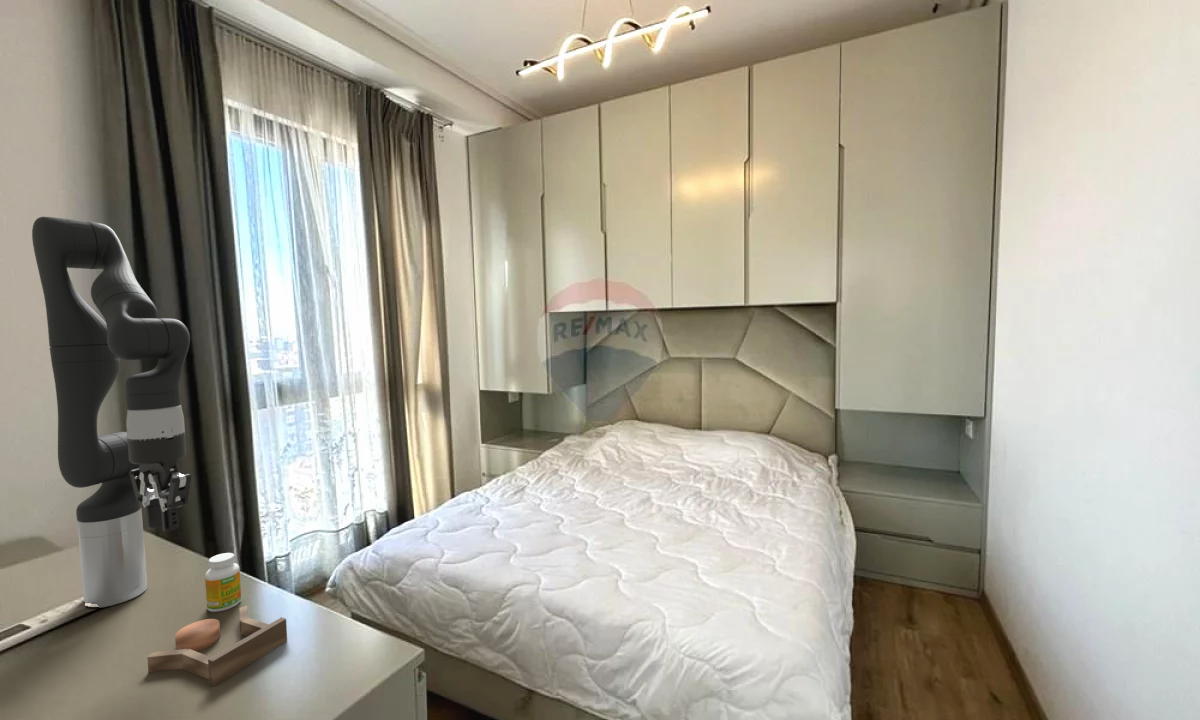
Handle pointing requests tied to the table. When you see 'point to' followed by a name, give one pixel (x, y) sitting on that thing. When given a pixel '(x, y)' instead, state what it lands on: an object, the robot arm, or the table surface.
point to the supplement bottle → (222, 583)
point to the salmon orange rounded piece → (198, 635)
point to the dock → (225, 651)
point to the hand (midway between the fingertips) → (163, 527)
